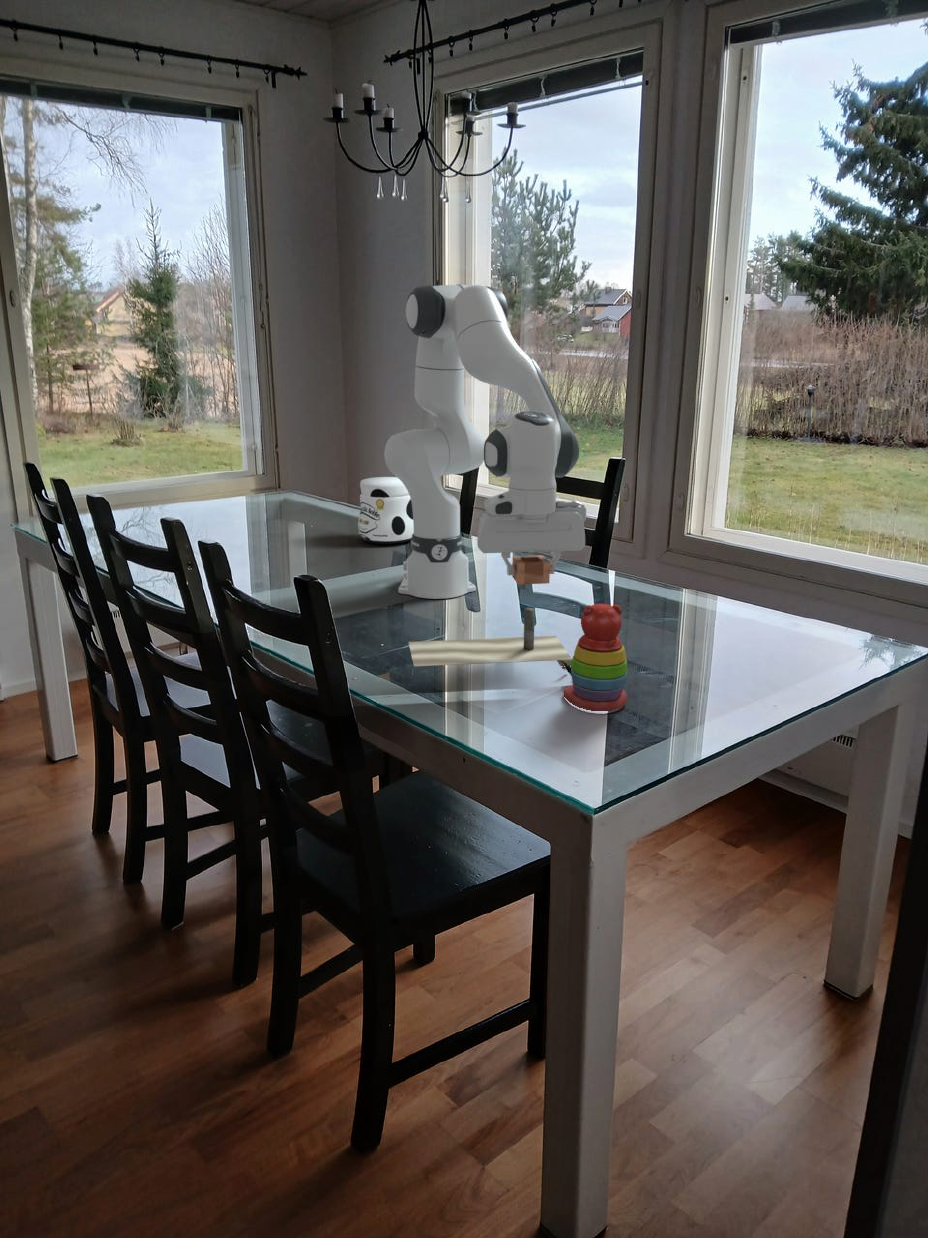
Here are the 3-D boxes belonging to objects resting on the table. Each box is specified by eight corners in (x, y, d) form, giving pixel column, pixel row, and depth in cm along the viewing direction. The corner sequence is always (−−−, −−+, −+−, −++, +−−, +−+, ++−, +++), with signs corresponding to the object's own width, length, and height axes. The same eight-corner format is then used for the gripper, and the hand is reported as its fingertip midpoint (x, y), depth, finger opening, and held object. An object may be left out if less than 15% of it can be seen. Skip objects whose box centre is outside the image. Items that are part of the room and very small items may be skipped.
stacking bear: (622, 692, 166) (627, 595, 161) (634, 714, 157) (641, 612, 151) (561, 693, 166) (564, 596, 160) (570, 716, 156) (574, 613, 151)
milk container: (349, 545, 275) (347, 484, 270) (371, 533, 291) (370, 475, 286) (404, 549, 270) (403, 487, 265) (424, 536, 286) (424, 477, 281)
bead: (512, 576, 182) (512, 556, 181) (542, 575, 183) (543, 555, 181) (517, 584, 176) (518, 563, 175) (549, 583, 177) (549, 562, 176)
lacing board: (408, 649, 188) (407, 603, 185) (555, 642, 192) (557, 598, 189) (413, 673, 175) (413, 625, 172) (571, 666, 178) (573, 618, 175)
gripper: (582, 497, 179) (579, 568, 183) (476, 500, 177) (475, 571, 181) (590, 503, 173) (588, 576, 177) (481, 506, 171) (480, 580, 175)
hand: (530, 574), depth 179 cm, fingers closed on bead, 6 cm apart
